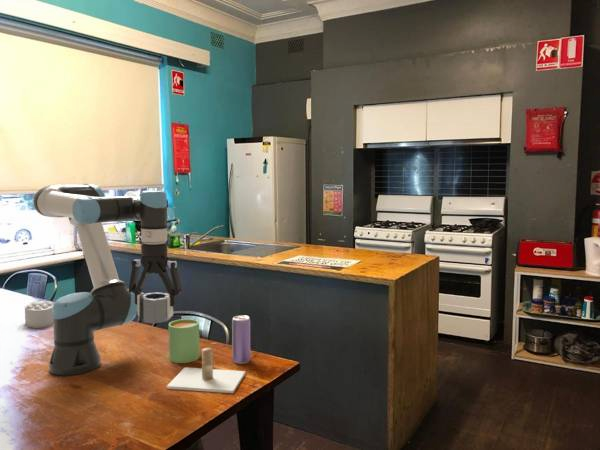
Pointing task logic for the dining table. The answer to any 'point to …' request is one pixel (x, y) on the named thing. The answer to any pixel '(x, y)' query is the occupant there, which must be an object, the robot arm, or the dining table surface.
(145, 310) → the ring
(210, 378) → the post
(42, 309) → the lumpy-topped squat cylinder
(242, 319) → the beverage can
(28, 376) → the dining table surface
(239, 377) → the base board
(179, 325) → the mug
